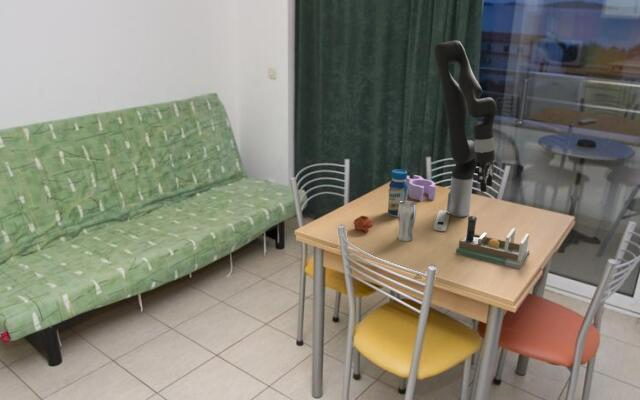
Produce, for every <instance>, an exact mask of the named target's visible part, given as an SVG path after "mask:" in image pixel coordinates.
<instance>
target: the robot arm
mask: <svg viewBox="0 0 640 400" xmlns="http://www.w3.org/2000/svg"><path fill="white" fill-rule="evenodd" d="M434 57H435V63H436V67H437V71H438V75H439V80H440V84H441V89H442V96H443V103H444V109H445V115H446V120H447V128H448V132H449V143H450V144H449V145H450V155H451V158H452V159H453V161H454V162H455V165H454V168H453V169H452V170H451V171H452V172H451V177H450V188H449V189H450V191H449V192H448V193H447V202H446V203H447V205H446V212H447V211H448V212H449V213H448V214H449V215H451V216H454V217H457V218H459V217H462V218H464V217H469V216H470V208H471V201H472V192H473V183H474V182H473V181H474V175H475V172H476V171H477V183H480V186H479V187H480V192H481V193H486V192H487V191H488V189H487V188H488V187H491V186H493V176H494V173H495V172H494V161H495V160H496V155H495V154H496V153H495V141H494V140H495V139H494V133H493V128H494V127H493V126H494V122H495V117H496V113H497V103H496V101H495V100H494V99H493V98H492V97H483V98H481V96H482V95H483V93H484V91H483V89H482V86H481V85H480V83H479V82H478V80H477V78H476V76H475V75H474V72H473V70H472V67H471V65H470V61H469V59H468V56H467V54H466V50H465V47H464V46H463V44H462V43H461V41H460V40H451V41H450V40H449V41H446V42H439V43H437V44H436V45H435V47H434ZM453 64H458V66H459V68H460V69H459V75H458V80H457V81H456V80H455V79H454V78H453V76H452V74H451V71H450V68H449V65H453ZM468 115H469V116H470V117H471V118H474V119H479V118H482V120H481V121H480V122H477V123H476V124H475V125H474V126H473V137H474V140H471V139H468V137H467V131H466V130H467V128H466V127H467V121H468ZM478 163H479V167H477V165H478Z"/></svg>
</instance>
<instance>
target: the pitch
mask: <svg viewBox="0 0 640 400" xmlns="http://www.w3.org/2000/svg"><path fill="white" fill-rule="evenodd" d="M516 230H517V229H516V227H512V229H511V230H510V231H509V232H508V234H507V235H506V237H505V239H500V238H496V237H491V236H487V237H486V243H485V244H484V246H482V245H478V244H473V243H469V242H465V241H463V240H459V241H458V247H457V248H456V249H455V250H456V252H455V254H458V255H463V256H466V257H470V258H474V259H479V260H483V261H487V262H491V263H494V264H499V265H503V266H507V267H511V268H514V269H520V268H521V267H522V265H523V263H524V262H525V260H526V258H527V256H528V255H529V253H530V247H529V248H528V246H529V245H528V244H529V238H530V233H526V234H524V236H523V237H522V239H521V241H520V242H515V235H516ZM481 235H482V234H477V233H475V234H474V237H477V238H479V237H480V236H481ZM491 239H496V240H498V241H499V247H498V248H497V249H495V248H491V247H489V246H488V242H489V241H490V240H491Z"/></svg>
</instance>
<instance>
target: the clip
mask: <svg viewBox="0 0 640 400" xmlns="http://www.w3.org/2000/svg"><path fill="white" fill-rule="evenodd" d="M406 182H407V184H408V188H407V190H408V194H407V197H408V198H410V199H413V200H417V201H419V202H423V201H424V194H427V195H428V200H431V201H435V200H436V190H437V186H436V183H435V181H433V180H431V179H425V178H423V177H422V175H416V174H413V178H410V175H407V179H406Z"/></svg>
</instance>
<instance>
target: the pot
mask: <svg viewBox="0 0 640 400" xmlns="http://www.w3.org/2000/svg"><path fill="white" fill-rule="evenodd" d="M353 225H354V230H355V231H357V230H360V231H364V232H365V234H366V233H368V231H369V229H371V228H372V227H373V225H374V222H373V220H372V219H371V218H369V217H368V216H366V215H360V216H359V217H357V218H355V219H354V221H353Z"/></svg>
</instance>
